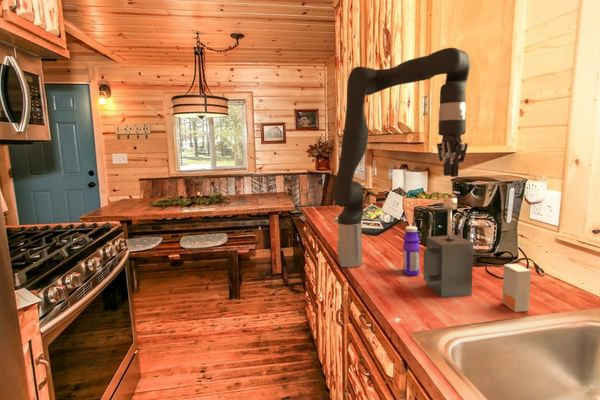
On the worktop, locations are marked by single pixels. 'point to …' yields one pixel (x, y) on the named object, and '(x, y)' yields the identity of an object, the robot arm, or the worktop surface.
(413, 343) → the worktop surface
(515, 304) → the skincare box
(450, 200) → the plunger
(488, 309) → the worktop surface
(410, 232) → the bottle
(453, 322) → the worktop surface
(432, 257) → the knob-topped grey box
